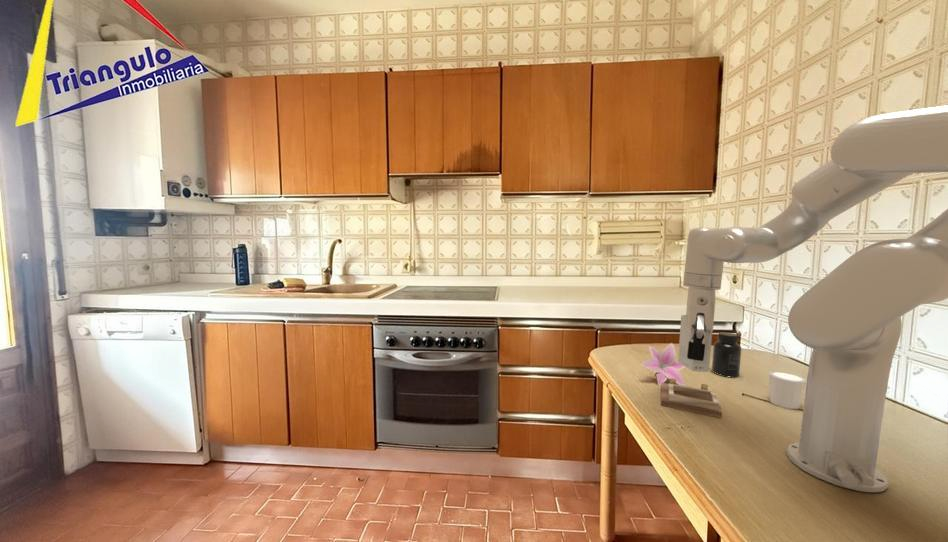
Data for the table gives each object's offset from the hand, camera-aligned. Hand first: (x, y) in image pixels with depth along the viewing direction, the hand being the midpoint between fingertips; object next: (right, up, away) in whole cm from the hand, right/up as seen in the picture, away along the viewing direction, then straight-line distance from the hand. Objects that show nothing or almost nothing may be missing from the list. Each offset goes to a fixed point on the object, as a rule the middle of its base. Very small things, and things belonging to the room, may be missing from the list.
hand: (693, 354), depth 88 cm
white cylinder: (+24, -13, +2) cm, 27 cm away
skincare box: (0, -3, 0) cm, 3 cm away
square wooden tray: (0, -12, +2) cm, 12 cm away
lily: (0, -11, +15) cm, 18 cm away
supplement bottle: (+22, -11, +22) cm, 33 cm away
